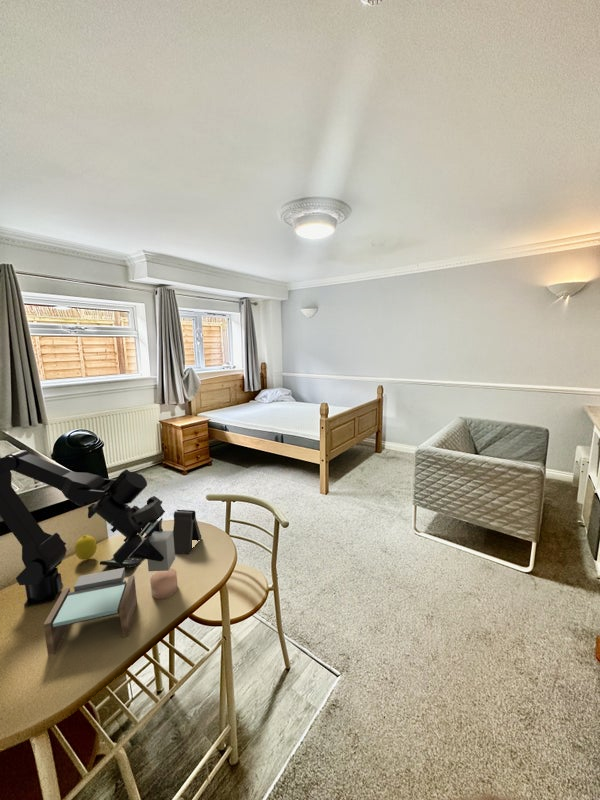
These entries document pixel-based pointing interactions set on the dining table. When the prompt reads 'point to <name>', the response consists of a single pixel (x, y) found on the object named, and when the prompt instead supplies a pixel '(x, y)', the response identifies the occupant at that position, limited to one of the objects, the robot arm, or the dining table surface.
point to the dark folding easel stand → (185, 530)
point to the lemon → (85, 547)
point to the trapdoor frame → (56, 633)
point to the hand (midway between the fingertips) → (166, 553)
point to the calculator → (126, 563)
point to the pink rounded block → (164, 584)
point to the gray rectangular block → (162, 550)
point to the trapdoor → (93, 597)
